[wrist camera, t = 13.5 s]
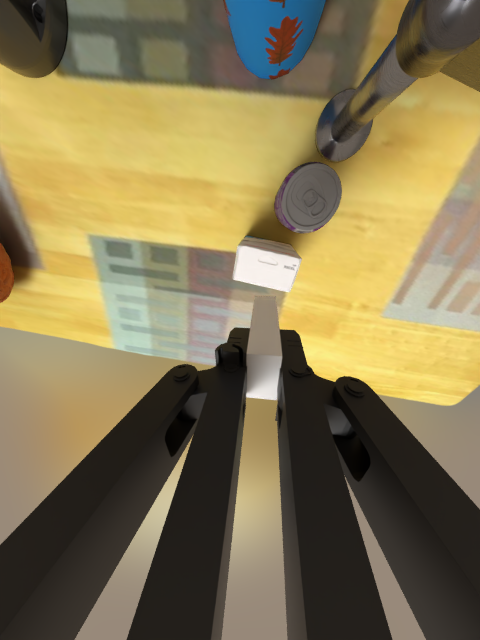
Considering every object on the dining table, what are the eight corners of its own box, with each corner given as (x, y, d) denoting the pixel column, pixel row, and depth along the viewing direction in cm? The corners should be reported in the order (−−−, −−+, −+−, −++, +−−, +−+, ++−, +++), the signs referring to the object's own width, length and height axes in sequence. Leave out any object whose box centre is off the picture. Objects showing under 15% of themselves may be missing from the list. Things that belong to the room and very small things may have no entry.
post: (315, 102, 25) (377, -41, 11) (373, 84, 24) (530, -104, 10) (315, 167, 29) (363, 122, 14) (366, 155, 27) (476, 91, 13)
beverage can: (328, 203, 31) (360, 199, 20) (292, 237, 34) (303, 248, 23) (301, 164, 29) (320, 137, 18) (265, 203, 32) (264, 199, 21)
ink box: (240, 262, 37) (230, 280, 27) (245, 234, 34) (236, 243, 24) (284, 271, 37) (291, 293, 26) (292, 244, 34) (303, 257, 24)
